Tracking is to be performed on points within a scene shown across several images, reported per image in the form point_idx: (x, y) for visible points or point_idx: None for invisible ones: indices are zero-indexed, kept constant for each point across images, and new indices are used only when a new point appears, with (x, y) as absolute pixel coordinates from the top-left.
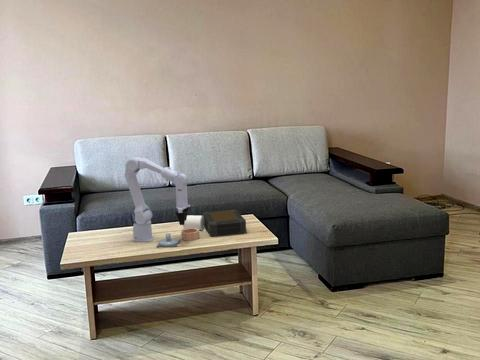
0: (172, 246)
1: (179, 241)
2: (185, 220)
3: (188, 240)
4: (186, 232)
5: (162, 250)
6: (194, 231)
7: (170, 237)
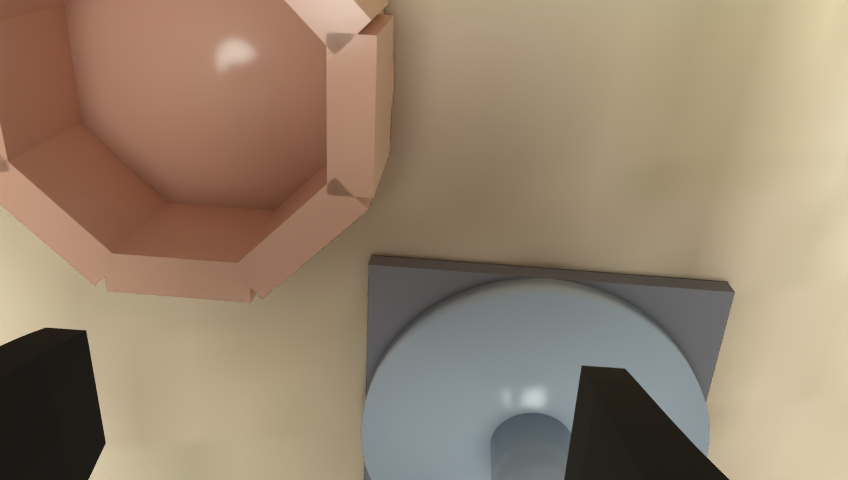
0: (712, 353)
1: (438, 261)
2: (83, 351)
3: (391, 101)
4: (100, 183)
5: (834, 471)
6: (34, 2)
7: (554, 461)
